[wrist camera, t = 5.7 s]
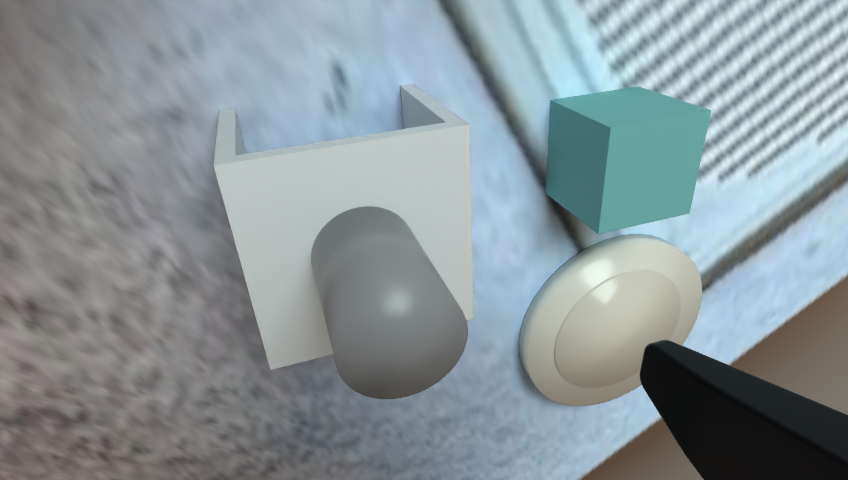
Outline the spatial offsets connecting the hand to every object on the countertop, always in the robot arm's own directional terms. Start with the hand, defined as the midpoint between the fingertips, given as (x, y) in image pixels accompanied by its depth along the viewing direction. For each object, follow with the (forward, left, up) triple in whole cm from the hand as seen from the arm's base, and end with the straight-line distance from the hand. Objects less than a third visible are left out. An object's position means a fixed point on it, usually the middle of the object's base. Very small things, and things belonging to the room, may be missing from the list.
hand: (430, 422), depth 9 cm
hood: (0, 0, -12) cm, 12 cm away
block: (0, -11, -12) cm, 16 cm away
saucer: (-10, -13, -12) cm, 20 cm away
